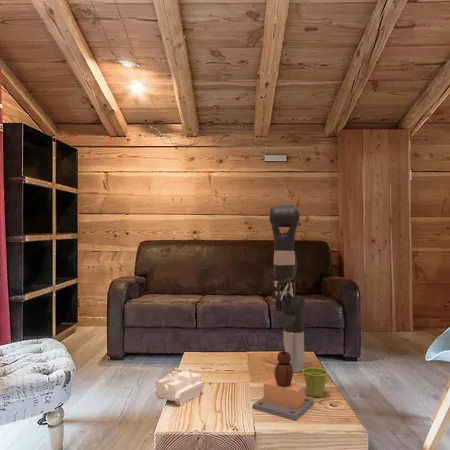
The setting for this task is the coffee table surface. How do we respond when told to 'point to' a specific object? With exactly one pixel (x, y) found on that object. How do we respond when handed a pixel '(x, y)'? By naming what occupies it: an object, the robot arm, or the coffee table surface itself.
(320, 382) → the plant pot
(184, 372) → the toy tank
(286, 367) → the wooden figurine
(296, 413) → the baseplate
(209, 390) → the coffee table surface
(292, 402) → the brick
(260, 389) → the coffee table surface
